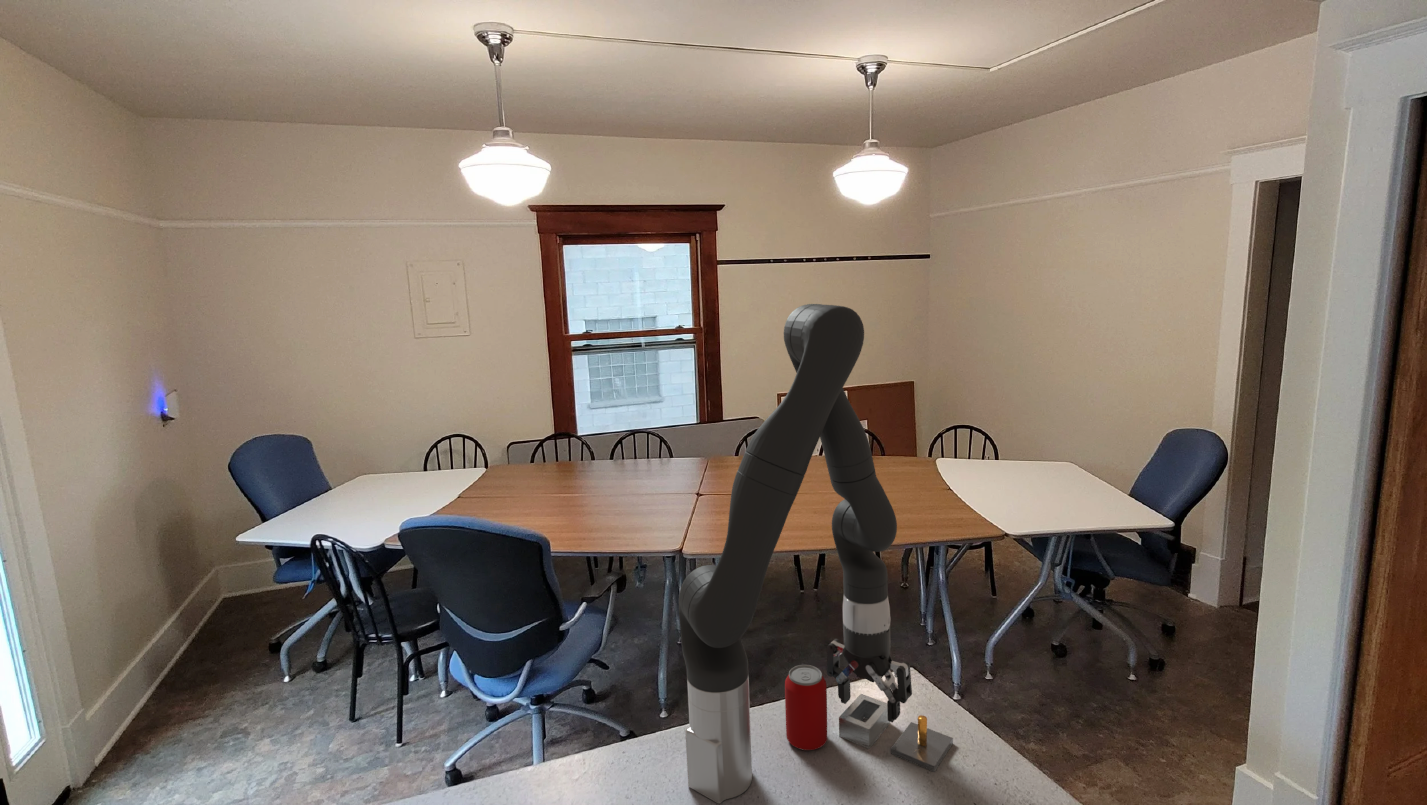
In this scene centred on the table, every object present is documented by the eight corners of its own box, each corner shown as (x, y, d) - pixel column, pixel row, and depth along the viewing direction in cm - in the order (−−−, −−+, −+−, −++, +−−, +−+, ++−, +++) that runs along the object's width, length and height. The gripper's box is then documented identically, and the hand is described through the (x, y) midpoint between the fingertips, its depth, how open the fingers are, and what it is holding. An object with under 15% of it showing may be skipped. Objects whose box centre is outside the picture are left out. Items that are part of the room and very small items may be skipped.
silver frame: (869, 749, 108) (868, 729, 107) (839, 736, 111) (838, 717, 110) (890, 723, 114) (890, 704, 113) (861, 711, 117) (861, 693, 116)
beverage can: (826, 727, 113) (825, 662, 111) (829, 755, 107) (827, 686, 105) (786, 726, 114) (784, 662, 112) (786, 753, 107) (784, 685, 105)
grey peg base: (934, 772, 102) (934, 740, 101) (891, 753, 106) (891, 722, 105) (952, 743, 108) (953, 713, 107) (911, 727, 112) (911, 698, 111)
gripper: (816, 618, 111) (820, 706, 113) (897, 642, 101) (899, 738, 104) (838, 600, 116) (841, 685, 119) (917, 622, 107) (918, 713, 110)
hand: (868, 710), depth 112 cm, fingers open, 8 cm apart
